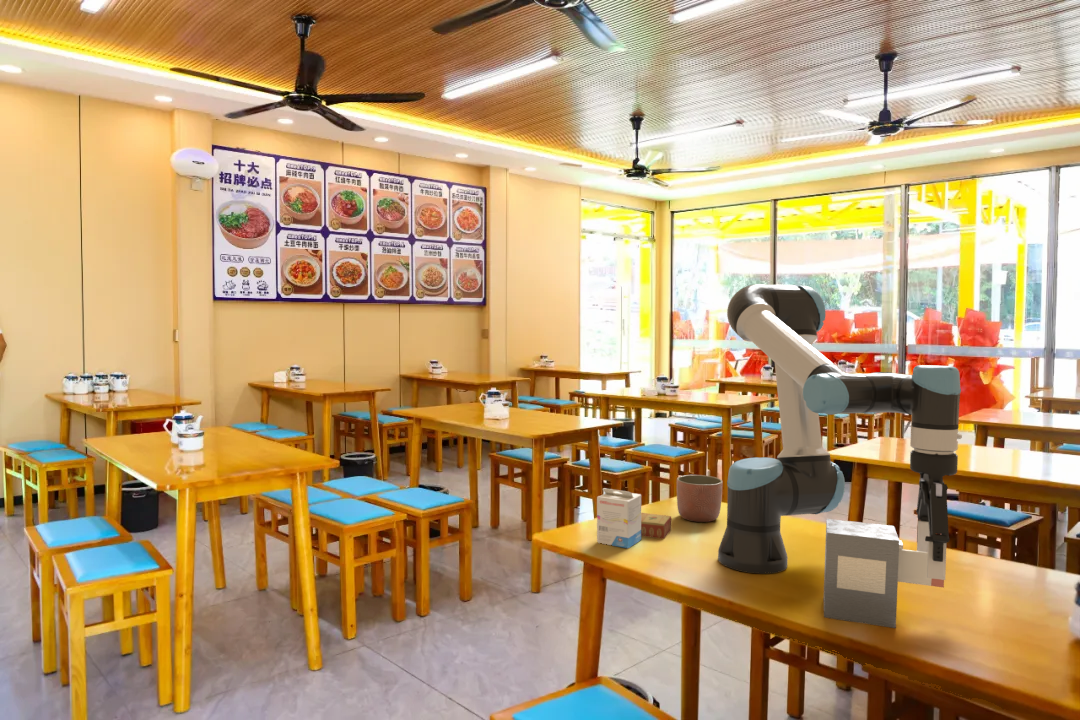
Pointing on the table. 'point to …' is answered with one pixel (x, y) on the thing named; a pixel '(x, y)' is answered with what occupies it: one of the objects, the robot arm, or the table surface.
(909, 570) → the pink-tipped white stick
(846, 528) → the dispenser
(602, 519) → the ink box
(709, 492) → the planter
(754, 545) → the robot arm
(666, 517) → the carton
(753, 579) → the table surface
